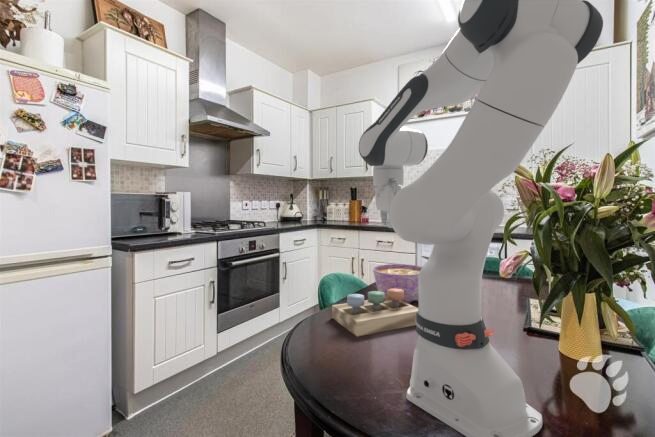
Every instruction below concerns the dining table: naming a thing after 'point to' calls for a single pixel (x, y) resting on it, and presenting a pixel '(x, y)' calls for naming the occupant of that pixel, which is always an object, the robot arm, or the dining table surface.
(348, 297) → the button slate
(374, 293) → the button green
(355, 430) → the dining table surface
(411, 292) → the bowl of food
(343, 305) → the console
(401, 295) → the button terracotta
